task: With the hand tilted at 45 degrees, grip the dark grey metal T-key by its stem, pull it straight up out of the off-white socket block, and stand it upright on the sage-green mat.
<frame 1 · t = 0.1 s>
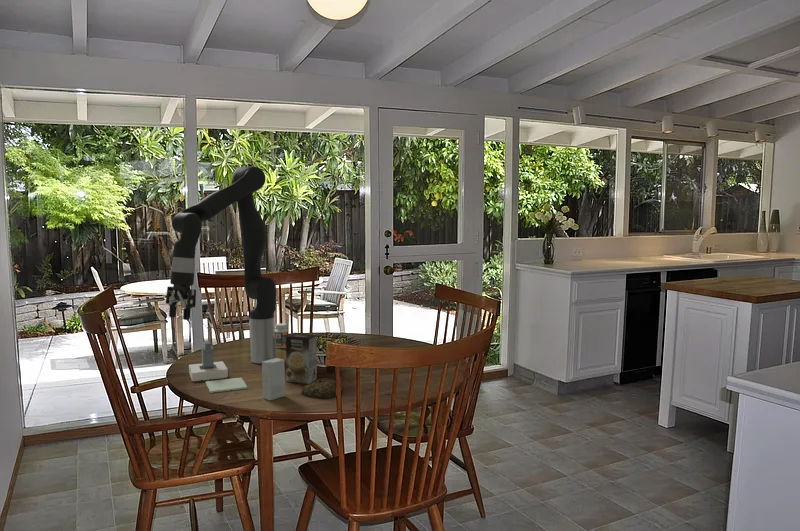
hand: (179, 318, 208), 22 cm above the table, tool pointing down, fingers open, 8 cm apart
sage mat: (226, 385, 206), on the table
t-key: (207, 358, 218), in the key socket
coffee box: (301, 380, 212), on the table
skincare box: (274, 398, 194), on the table
pill bottle: (281, 347, 262), on the table
brown rock: (323, 393, 199), on the table
key socket: (208, 375, 219), on the table
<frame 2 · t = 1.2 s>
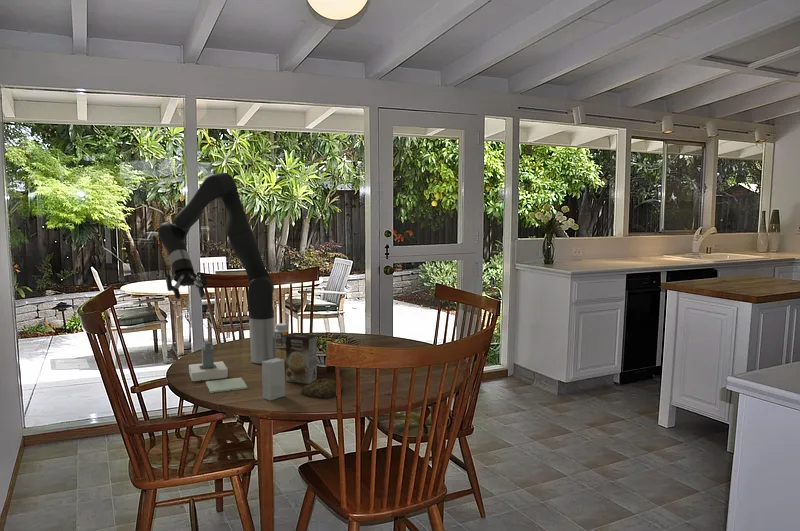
hand: (190, 297, 228), 27 cm above the table, tool tilted 45°, fingers open, 8 cm apart
nothing on the table moved.
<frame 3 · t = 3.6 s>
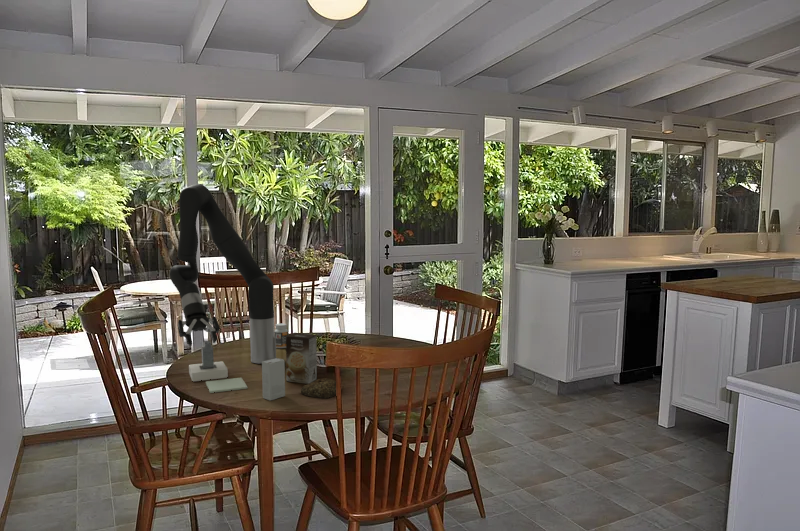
hand: (202, 343, 222), 11 cm above the table, tool tilted 45°, fingers open, 8 cm apart
nothing on the table moved.
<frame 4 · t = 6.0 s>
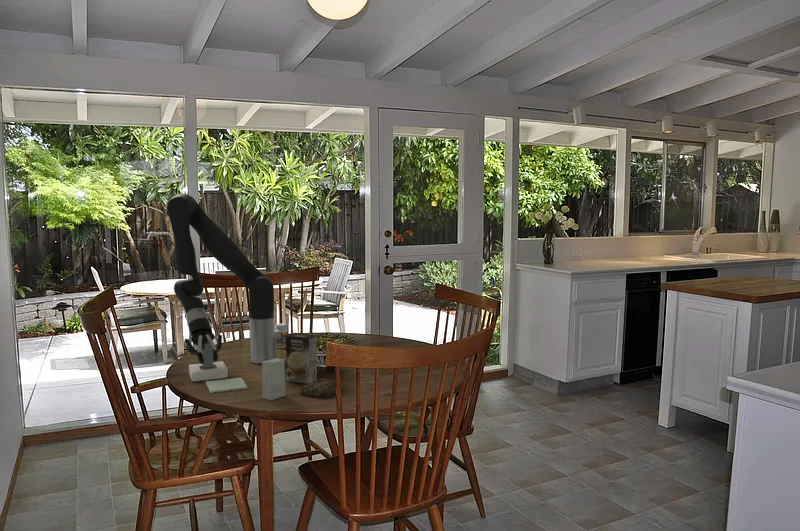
hand: (209, 361, 217), 5 cm above the table, tool tilted 45°, fingers closed on t-key, 4 cm apart
t-key: (207, 358, 218), in the key socket, touching gripper
everything else where it was.
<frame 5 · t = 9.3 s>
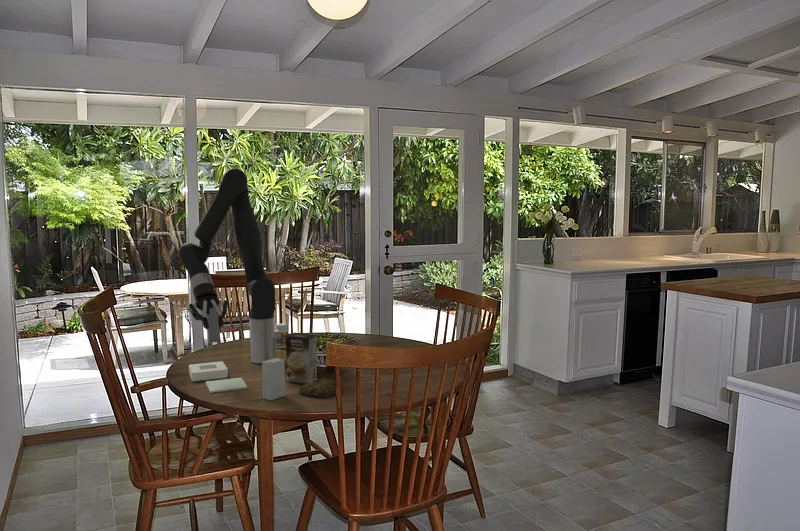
hand: (214, 327, 210), 19 cm above the table, tool tilted 45°, fingers closed on t-key, 4 cm apart
t-key: (212, 324, 212), point 20 cm above the table, touching gripper
everything else where it was.
when the fingers open (7 cm above the table, at t = 13.1 s): t-key drops 1 cm, resting on sage mat.
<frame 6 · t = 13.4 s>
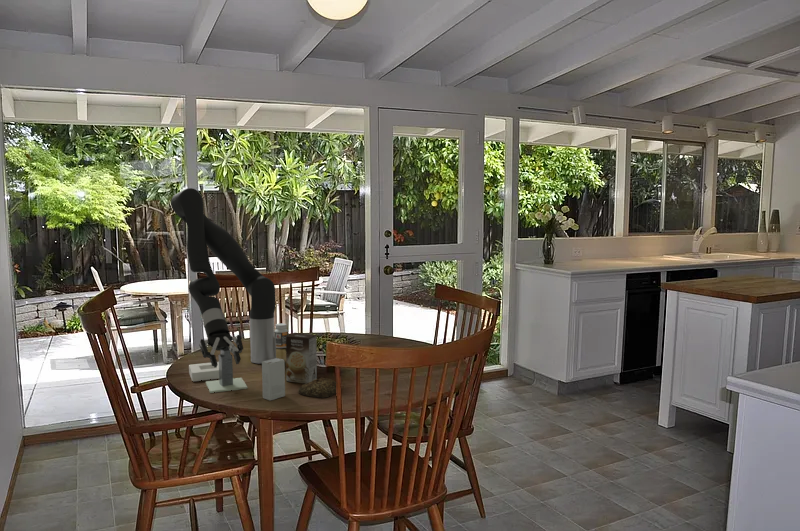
hand: (227, 364, 204), 8 cm above the table, tool tilted 45°, fingers open, 7 cm apart
t-key: (225, 366, 205), on the sage mat, point 7 cm above the table
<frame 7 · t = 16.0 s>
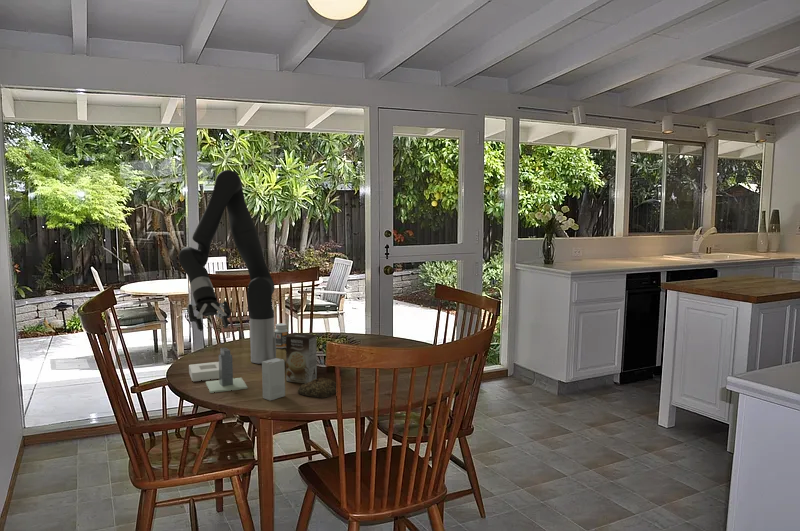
hand: (214, 328, 214), 18 cm above the table, tool tilted 45°, fingers open, 8 cm apart
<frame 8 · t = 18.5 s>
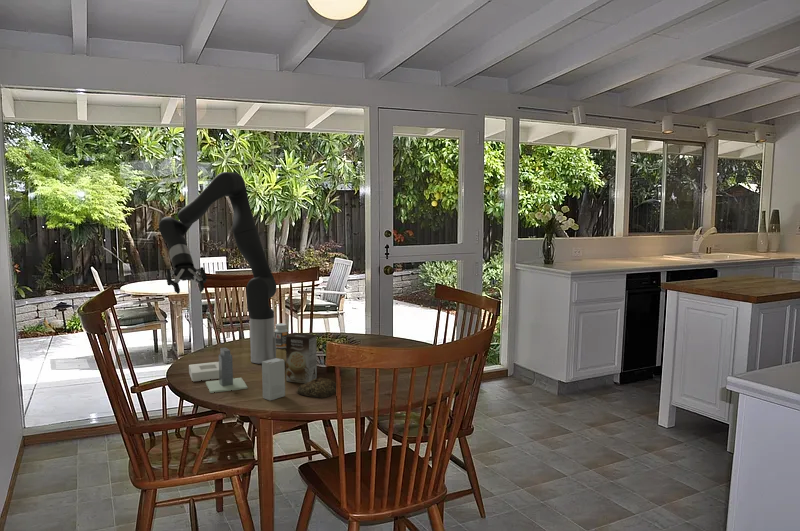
hand: (190, 291, 228), 29 cm above the table, tool tilted 45°, fingers open, 8 cm apart
at the end: t-key inside the target area on the sage mat (0.0 cm from its centre), point 6.6 cm above the sage mat's base; t-key tilted 0°; the gripper is holding nothing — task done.
